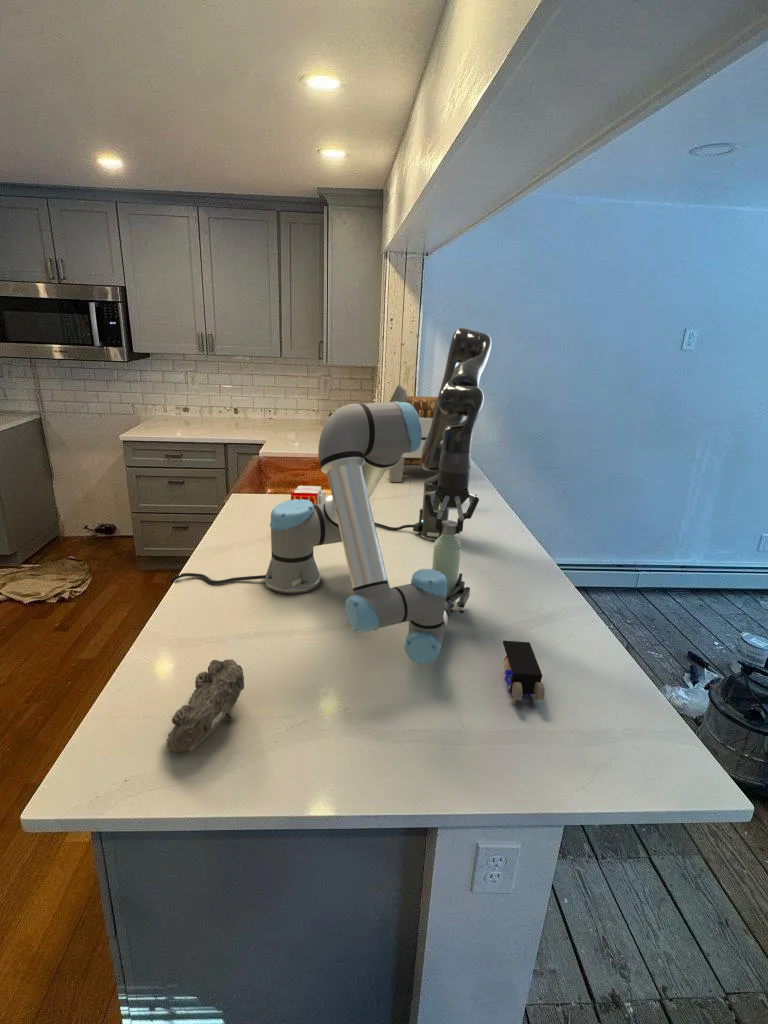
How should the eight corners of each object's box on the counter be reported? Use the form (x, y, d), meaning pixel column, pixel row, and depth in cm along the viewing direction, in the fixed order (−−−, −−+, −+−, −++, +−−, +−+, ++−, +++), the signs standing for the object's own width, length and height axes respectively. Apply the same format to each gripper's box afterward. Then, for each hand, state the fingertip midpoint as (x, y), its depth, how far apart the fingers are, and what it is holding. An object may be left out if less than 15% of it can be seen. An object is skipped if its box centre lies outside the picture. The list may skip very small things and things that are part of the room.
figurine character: (543, 716, 114) (525, 665, 128) (550, 687, 111) (531, 638, 124) (510, 715, 114) (496, 664, 127) (516, 687, 111) (500, 637, 124)
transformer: (382, 463, 289) (386, 382, 275) (445, 464, 293) (451, 384, 279) (390, 482, 257) (394, 392, 243) (460, 483, 261) (468, 394, 247)
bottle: (441, 614, 148) (448, 531, 140) (423, 603, 153) (430, 523, 145) (460, 607, 152) (468, 526, 144) (442, 597, 157) (449, 518, 149)
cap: (460, 533, 145) (461, 525, 144) (446, 535, 143) (446, 527, 142) (451, 527, 148) (452, 519, 147) (437, 529, 146) (438, 521, 146)
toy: (326, 481, 223) (320, 494, 193) (326, 514, 225) (320, 532, 196) (296, 480, 222) (285, 493, 193) (295, 513, 225) (285, 531, 196)
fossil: (192, 660, 117) (244, 628, 112) (224, 691, 120) (276, 661, 115) (142, 746, 98) (202, 712, 93) (182, 779, 101) (242, 748, 96)
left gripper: (391, 623, 137) (410, 582, 158) (473, 637, 133) (481, 593, 154) (392, 596, 135) (411, 558, 156) (476, 609, 131) (484, 568, 152)
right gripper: (482, 465, 143) (475, 528, 149) (425, 462, 144) (421, 525, 149) (485, 473, 136) (477, 539, 142) (425, 469, 137) (420, 535, 142)
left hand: (446, 575), depth 155 cm, fingers closed on bottle, 7 cm apart
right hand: (448, 531), depth 145 cm, fingers closed on cap, 4 cm apart
